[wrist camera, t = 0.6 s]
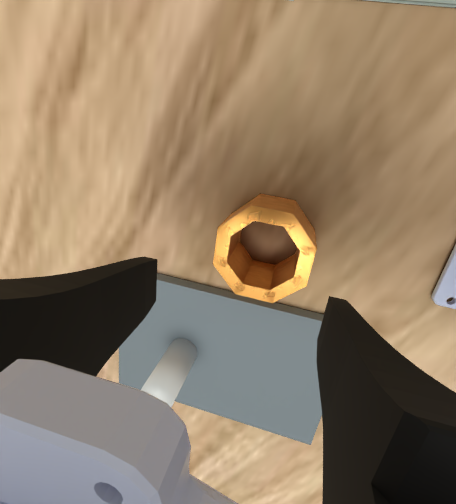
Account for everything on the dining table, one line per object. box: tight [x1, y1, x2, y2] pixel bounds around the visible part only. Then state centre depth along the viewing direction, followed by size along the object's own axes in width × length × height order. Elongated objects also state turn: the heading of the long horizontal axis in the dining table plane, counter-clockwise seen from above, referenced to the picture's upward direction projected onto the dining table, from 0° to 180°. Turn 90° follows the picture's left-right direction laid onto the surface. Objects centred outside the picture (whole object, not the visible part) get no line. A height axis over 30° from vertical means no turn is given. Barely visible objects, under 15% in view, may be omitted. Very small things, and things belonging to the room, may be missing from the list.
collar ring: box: [213, 194, 317, 303], centre depth 19 cm, size 6×6×4 cm
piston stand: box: [119, 273, 324, 445], centre depth 22 cm, size 18×12×6 cm, turn 84°
